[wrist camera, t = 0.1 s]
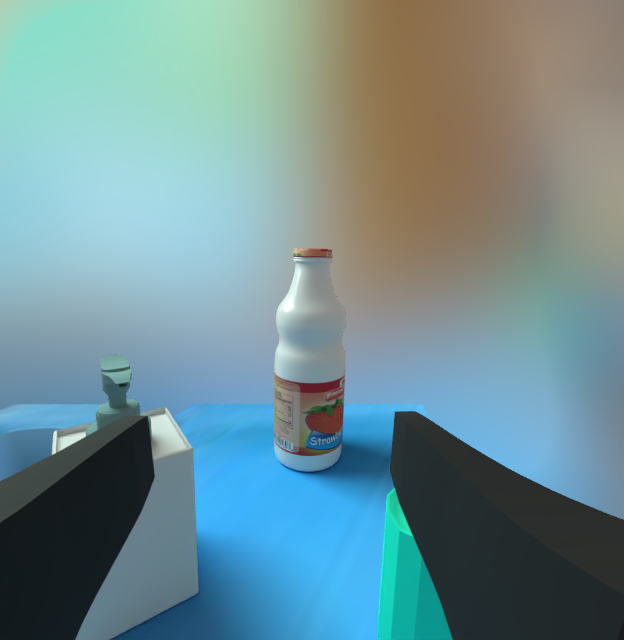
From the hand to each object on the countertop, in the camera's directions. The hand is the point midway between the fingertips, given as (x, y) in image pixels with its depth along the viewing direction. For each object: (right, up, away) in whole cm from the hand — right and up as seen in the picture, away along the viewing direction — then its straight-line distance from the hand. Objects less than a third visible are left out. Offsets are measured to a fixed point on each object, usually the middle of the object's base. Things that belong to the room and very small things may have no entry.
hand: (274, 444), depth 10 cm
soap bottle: (-14, -18, +19) cm, 30 cm away
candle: (+9, -20, +15) cm, 26 cm away
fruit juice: (0, -15, +38) cm, 41 cm away
